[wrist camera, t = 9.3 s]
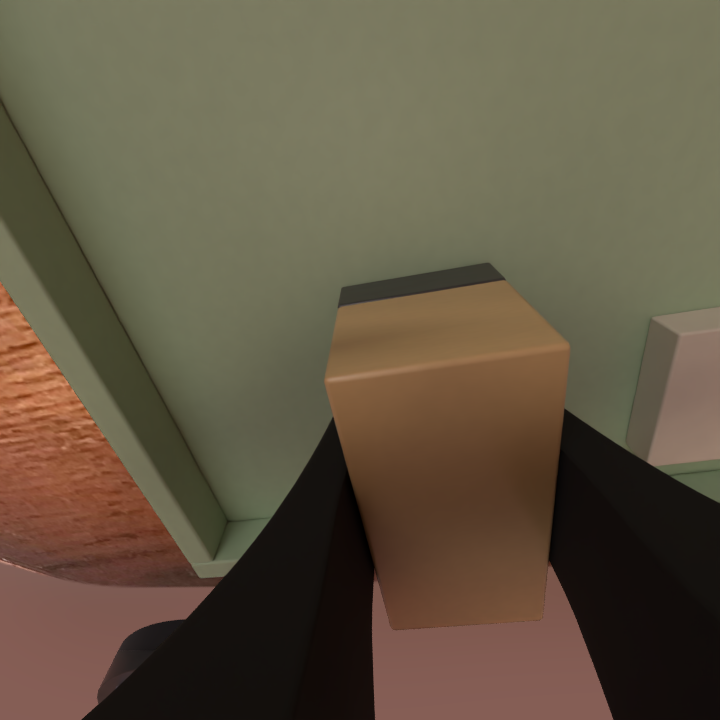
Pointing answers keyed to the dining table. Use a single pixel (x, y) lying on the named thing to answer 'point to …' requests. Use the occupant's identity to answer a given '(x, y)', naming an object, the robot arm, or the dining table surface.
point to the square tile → (678, 390)
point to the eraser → (451, 441)
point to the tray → (339, 207)
